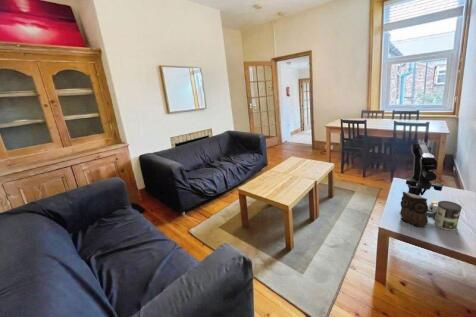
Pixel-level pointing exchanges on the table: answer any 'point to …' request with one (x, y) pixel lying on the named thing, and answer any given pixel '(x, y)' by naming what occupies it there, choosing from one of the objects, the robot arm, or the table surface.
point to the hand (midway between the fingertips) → (421, 195)
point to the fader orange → (433, 203)
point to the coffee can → (447, 215)
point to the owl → (414, 210)
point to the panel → (431, 212)
